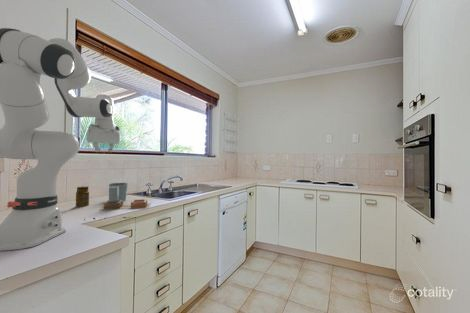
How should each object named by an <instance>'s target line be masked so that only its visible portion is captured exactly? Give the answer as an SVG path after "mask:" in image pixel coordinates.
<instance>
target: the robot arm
mask: <svg viewBox="0 0 470 313" xmlns="http://www.w3.org/2000/svg"><path fill="white" fill-rule="evenodd" d="M42 75H44V76H47V77H49V78H53V80H54V84H55V87H56V90H57V91H58V93H59V95H60V97H61V98H62V101H63V103H64V105H65V109H66V111H67V113H68V114H70V116H72V117H74V118H94V124H93V123H91V124H90V125H89V126H88V129H87V131H86V132H87V133H86V141H87V143H91V144H92V145H93V148H94V152H95V153H99V152H101V148H100V147H99V145H100V144H108V146H109V147H108V148H107V152H108V153H112V152H113V151H114V150H113V149H114V147H115V145H119V143H120V139H121V138H120V137H121V136H120V134H121V133H120V130H121V128H120V126H118V125H117V124H116V123H115V121H114V114H115V105H114V99H113V97H111V96H110V95H107V94H104V93H103V94H97V95H96V97H89V96H88V97H86V96H85V97H84V96H79V95H76V94H75V92H74V90H79V89H83V88H84V87H85V86H87V85H88V84H89V83H90V81H91V78H92V74H91V70H90V68H89V66H88V65H87V62H86V61H85V59H84V57H83V56H82V55H81V53H80V52H79V51H78V50H77V48H76V47H75V46H74V45H73V44H72V43H71V42H70V41H69V40H67V39H64V38H60V37H56V38H50V39H49V40H47V39H44V38H42V37H40V36H38V35H36V34H32V33H28V32H24V31H21V30H19V29H17V28H10V27H9V28H7V27H4V28H3V27H1V28H0V106H1V109H2V113H3V115H4V116H3V117H4V125H3V126H2V127H1V129H0V158H4V159H11V160H37V163H36V166H34V167H33V168H30V169H27V170H25V171H23V172H21V173H20V174H19V175H18V176H17V179H16V197H15V198H14V199H13V201H8V202H7V203H6V207H7V208H8V209H9V208H11V209H12V210H11V211H10V213H8V215H7V216H6V217H5V218H4V220H2V222H0V251H2V252H3V251H13V250H14V251H15V250H22V249H27V248H33V247H37V246H38V245H40V244H43V243H45V242H47V241H48V240H51V239H53V238H54V237H57V236H59V235H61V234H63V233H66V231H67V230H66V228H65V227H63V222H62V221H63V219H62V211H61V209H60V208H59V207H58V205H57V204H58V194H57V183H58V182H57V181H58V175H59V173H60V170H61V168H62V167H63V166H64V165H65V164H66V163H67V162H68V161H70V160H71V159H73V158H75V157H76V155H78V153H79V152H80V141H79V140H78V138H77V137H76V135H74V134H71V133H67V132H62V131H54V130H37V128H40V127H42V126H44V125H45V124H46V123H47V122H48V121H49V118H50V113H49V109H48V105H47V102H46V97H45V94H44V91H43V88H42V85H41V84H40V81H41V80H40V79H41V76H42Z"/></svg>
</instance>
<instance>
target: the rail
mask: <svg viewBox="0 0 470 313" xmlns="http://www.w3.org/2000/svg"><path fill="white" fill-rule="evenodd" d="M150 206H151V203H148V199H146V198H145V199H143V198H142V199H133V200H132V201H131V202H130V203H129V204H128V203H127V204H126V203H124V201H123V200H119V202H116V203H109V199H108V200H107V201H105V202H104V203H103V207H101V208H100V209H99V211H113V210H115V211H116V210H117V211H118V210H136V209H139V210H140V209H149V208H150Z"/></svg>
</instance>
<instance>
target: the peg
mask: <svg viewBox="0 0 470 313" xmlns="http://www.w3.org/2000/svg"><path fill="white" fill-rule="evenodd" d="M108 200H109V203H116V202H119V186H116V187H108Z"/></svg>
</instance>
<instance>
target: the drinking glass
mask: <svg viewBox="0 0 470 313" xmlns="http://www.w3.org/2000/svg"><path fill="white" fill-rule="evenodd" d="M108 186H109V187H116V186H119V200H123V202H124V201H126V200H127V191H128V183H127V182H113V183H109V184H108ZM109 187H108V188H109Z"/></svg>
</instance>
